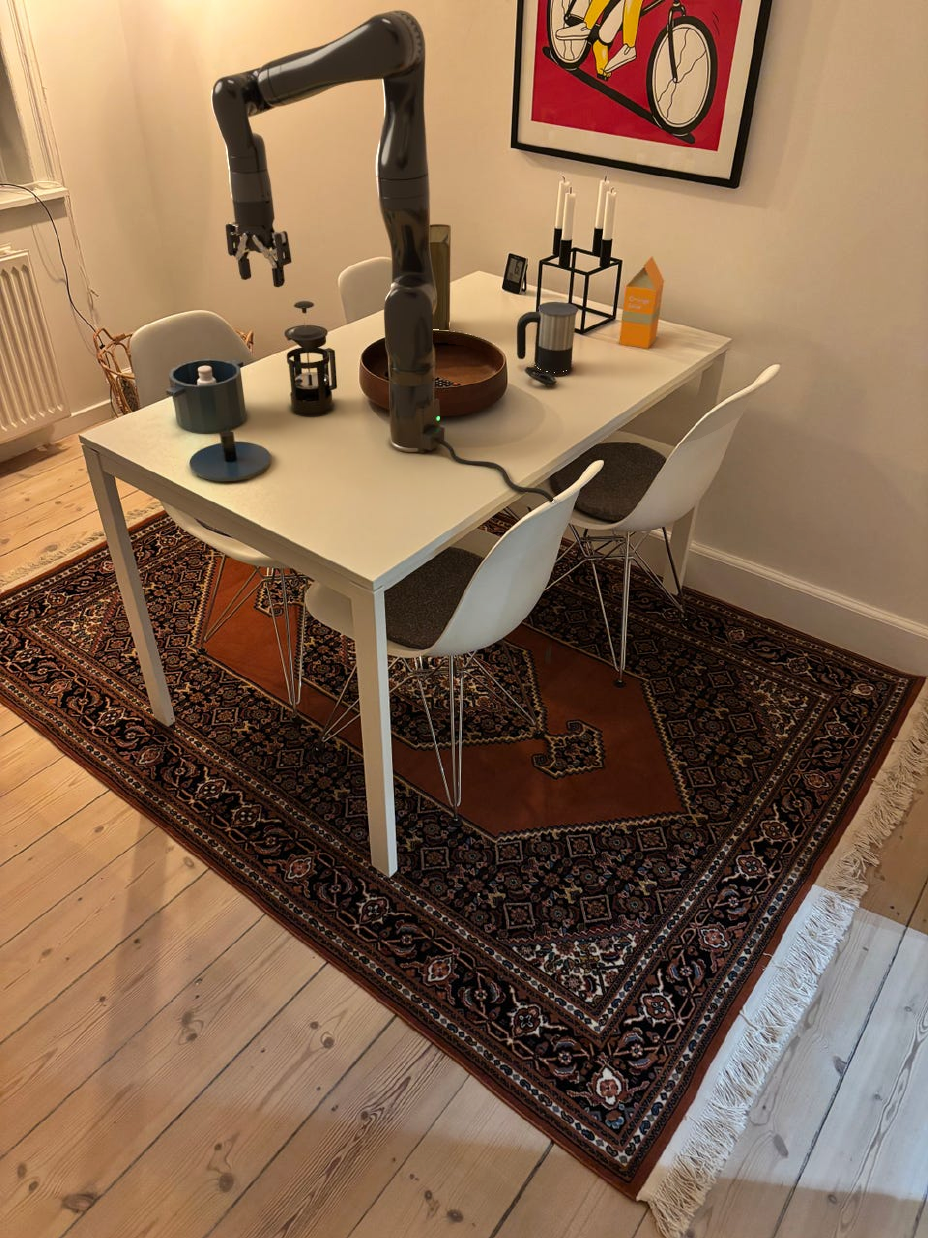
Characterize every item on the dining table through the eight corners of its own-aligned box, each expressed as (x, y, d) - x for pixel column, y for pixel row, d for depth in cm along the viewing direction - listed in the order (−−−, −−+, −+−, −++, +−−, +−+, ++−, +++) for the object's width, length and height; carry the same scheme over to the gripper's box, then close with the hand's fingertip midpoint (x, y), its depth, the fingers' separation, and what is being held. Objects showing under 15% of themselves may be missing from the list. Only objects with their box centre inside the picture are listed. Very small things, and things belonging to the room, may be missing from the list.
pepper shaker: (198, 412, 208) (190, 363, 201) (224, 410, 209) (217, 361, 202) (199, 423, 204) (191, 373, 197) (225, 421, 205) (218, 371, 198)
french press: (304, 421, 206) (294, 314, 192) (279, 407, 212) (268, 302, 198) (348, 406, 213) (342, 302, 199) (323, 392, 218) (315, 290, 204)
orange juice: (618, 343, 245) (627, 263, 233) (627, 332, 252) (637, 253, 240) (648, 348, 243) (659, 267, 231) (656, 337, 249) (668, 257, 237)
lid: (287, 459, 192) (284, 428, 188) (232, 491, 181) (227, 459, 177) (229, 439, 199) (225, 409, 195) (173, 469, 188) (167, 438, 184)
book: (429, 322, 255) (428, 223, 240) (449, 323, 255) (450, 224, 240) (426, 345, 242) (425, 242, 227) (448, 346, 242) (449, 243, 227)
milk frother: (565, 360, 236) (569, 299, 227) (588, 385, 224) (595, 322, 215) (509, 365, 233) (512, 304, 224) (530, 391, 221) (534, 327, 212)
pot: (268, 410, 210) (263, 364, 204) (203, 444, 197) (195, 396, 191) (220, 394, 216) (213, 350, 210) (153, 426, 203) (144, 379, 197)
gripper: (209, 194, 182) (222, 281, 191) (266, 204, 176) (277, 293, 185) (237, 186, 187) (248, 271, 197) (293, 195, 181) (302, 283, 190)
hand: (262, 282), depth 191 cm, fingers open, 8 cm apart
